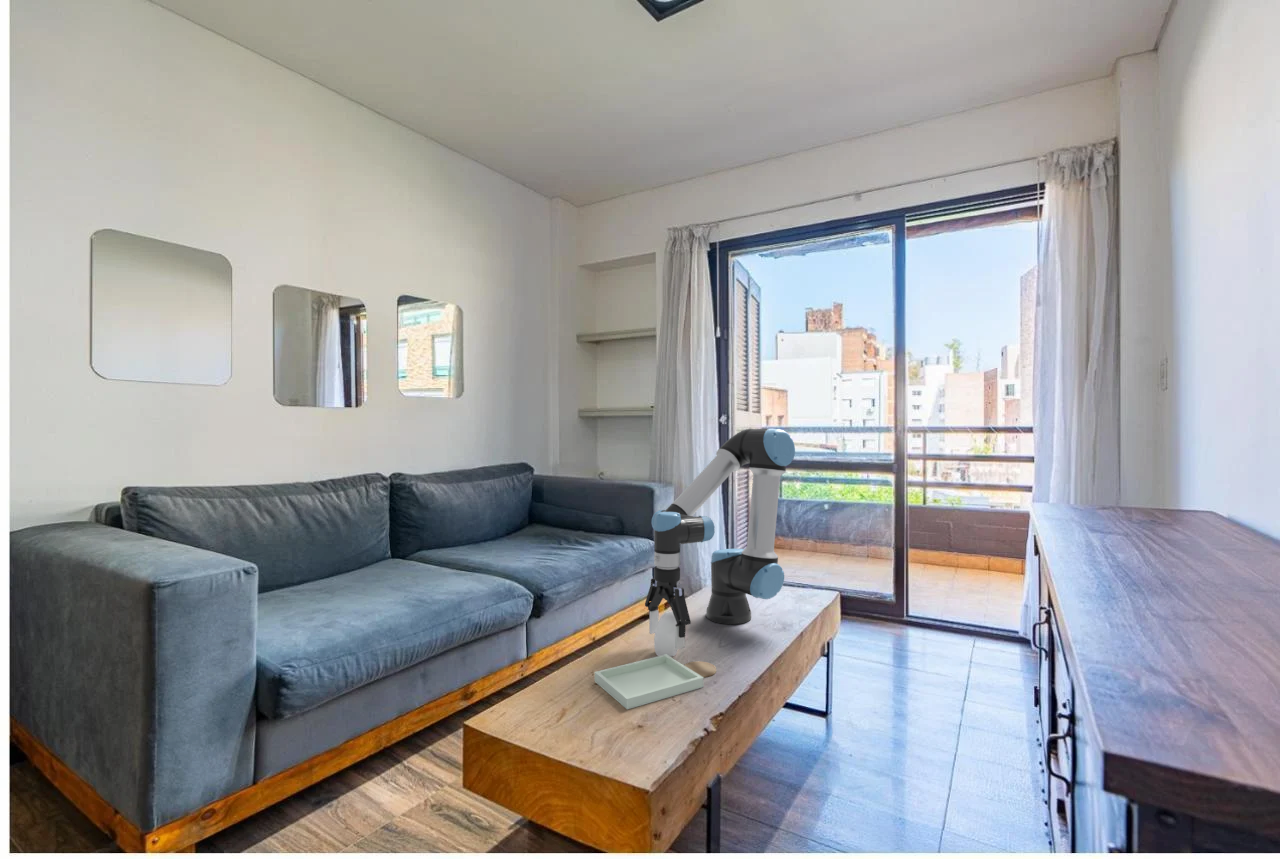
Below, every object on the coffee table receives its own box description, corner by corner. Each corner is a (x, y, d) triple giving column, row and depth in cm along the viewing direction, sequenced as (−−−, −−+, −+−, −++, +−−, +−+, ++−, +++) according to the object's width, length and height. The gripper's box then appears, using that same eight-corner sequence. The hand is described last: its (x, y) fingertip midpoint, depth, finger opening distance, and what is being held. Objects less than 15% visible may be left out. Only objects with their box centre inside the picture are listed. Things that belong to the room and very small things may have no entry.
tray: (666, 662, 157) (666, 654, 157) (703, 686, 142) (703, 677, 142) (594, 681, 146) (594, 671, 146) (627, 709, 131) (627, 699, 131)
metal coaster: (696, 660, 159) (696, 658, 159) (723, 669, 152) (723, 668, 152) (675, 670, 152) (675, 668, 152) (702, 680, 146) (702, 678, 146)
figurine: (678, 659, 160) (678, 616, 159) (652, 657, 161) (652, 614, 161) (682, 649, 167) (682, 608, 166) (656, 647, 168) (656, 607, 168)
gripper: (634, 559, 172) (633, 629, 172) (681, 577, 151) (680, 657, 151) (655, 556, 176) (654, 625, 176) (703, 574, 155) (703, 652, 155)
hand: (666, 640), depth 164 cm, fingers open, 13 cm apart
